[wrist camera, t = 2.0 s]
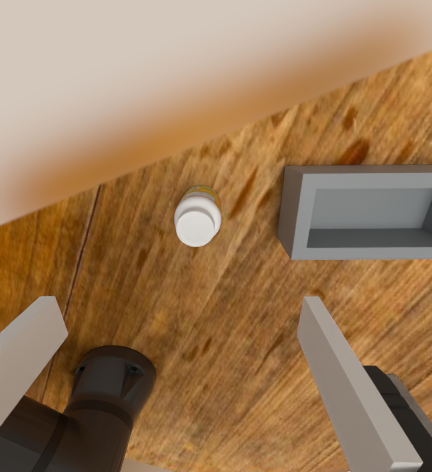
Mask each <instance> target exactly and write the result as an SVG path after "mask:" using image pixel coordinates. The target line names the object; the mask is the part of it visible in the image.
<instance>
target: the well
mask: <svg viewBox="0 0 432 472" xmlns="http://www.w3.org/2000/svg"><path fill="white" fill-rule="evenodd" d="M277 237H278V239H279V240H280V242H281V244H282V245H283V247H284V249H285V250H286V252H287V254H288V255H289V257H290V259H291V260H356V259H432V164H431V165H323V166H285V170H284V179H283V188H282V198H281V207H280V216H279V226H278V235H277Z"/></svg>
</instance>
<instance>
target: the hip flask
mask: <svg viewBox="0 0 432 472" xmlns="http://www.w3.org/2000/svg"><path fill="white" fill-rule="evenodd" d="M387 376H388V377H389V378H390V379H391V381H392V382H393V383H394V385H395V386H396V388H397V389H398V390H399V392H400V394H401V396H403V397H404V399H405V400H406V402H407V403H408V404H409V407H410V409H412V410H413V411H414V413H415V414H416V416H417V417H418V419H419V420H420V421H421V423H422V424H423V426H424V427H425V428H426V430H427V431H428V433H429V434H430V435H431V437H432V422H431V421H430V420H429V418H428V417H427V416H426V414H425V413H424V412H423V410H422V409H421V408H420V406H419V405H418V404H417V402H416V401H415V400H414V398H413V397H412V396H411V394H410V393H409V392H408V390H407V389H406V388H405V386H404V385H403V384H402V382H401V381H400V380H399V378H398V377H397V376H396V375H395V374H387Z"/></svg>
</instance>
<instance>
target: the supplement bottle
mask: <svg viewBox="0 0 432 472" xmlns="http://www.w3.org/2000/svg"><path fill="white" fill-rule="evenodd" d="M174 223H175V226H176V232H177V235H178V237H179V239H180V240H181V241H182V242H183V243H185V244H186V245H189V246H192V247H199V246H203V245H205V244H207V243H208V242H209V241H210V240H211V239H212V237H213V236H214V235H215V234H216V233H217V232H218V230H219V228H220V225H221V205H220V200H219V197H218V195H217V194H216V192H215V191H214V190H212V189H211V188H209V187H206V186H195V187H192V188H191V189H189V190H188V191H187V192H186V193H185V194H184V196H183V198H182V200H181V201H180V203H179V205H178V207H177V209H176V211H175V215H174Z"/></svg>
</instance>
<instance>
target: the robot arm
mask: <svg viewBox="0 0 432 472" xmlns="http://www.w3.org/2000/svg"><path fill="white" fill-rule="evenodd" d="M67 336H68V332H67V329H66V326H65V323H64V320H63V318H62V315H61V312H60V309H59V306H58V303H57V301H56V298H55V296H40V297H39V298H38V299H37V300H36V301H35V302H34V303H32V304H31V305H30V306H29V307H28V308H27V309H26V310H25V311H24V312H22V313H21V314H20V315H19V316H18V317H17V318H16V319H15V320H14V321H13V322H11V323H10V324H9V325H8V326H7V327H6V328H5V329H4V330H3V331H1V332H0V472H120V471H121V467H122V463H123V460H124V457H125V453H126V450H127V446H128V442H129V439H130V435H131V432H132V428H133V425H134V422H135V420H136V419H137V417H138V415H139V414H140V412H141V410H142V409H143V407H144V405H145V404H146V402H147V400H148V398H149V397H150V395H151V393H152V391H153V388H154V384H155V380H156V372H155V369H154V367H153V365H152V364H151V362H150V361H149V360H148V359H147V358H145V357H144V356H143V355H141V354H140V353H138V352H136V351H133V350H131V349H127V348H123V347H117V346H106V347H100V348H97V349H94V350H92V351H90V352H89V353H87V354H86V355H85V356H84V357H83V359H82V361H81V362H80V364H79V366H78V367H77V369H76V372H75V375H74V379H73V383H72V387H71V391H70V396H69V400H68V404H67V406H66V408H65V410H64V412H63V414H62V413H60V412H58V411H56V410H54V409H52V408H50V407H48V406H46V405H44V404H42V403H40V402H38V401H36V400H34V399H32V398H30V397H28V396H26V395H24V394H25V393H26V391H27V390H28V389H29V387H30V386H31V385H32V383H33V382H34V381H35V379H36V378H37V377H38V375H39V374H40V373H41V371H42V370H43V369H44V367H45V366H46V364H47V363H48V362H49V360H50V359H51V358H52V356H53V355H54V354H55V352H56V351H57V350H58V348H59V347H60V346H61V344H62V343H63V342H64V340H65V339H66V338H67ZM297 337H298V340H299V343H300V345H301V348H302V350H303V353H304V355H305V358H306V360H307V363H308V365H309V368H310V370H311V373H312V375H313V378H314V380H315V383H316V385H317V388H318V390H319V393H320V395H321V398H322V400H323V403H324V405H325V408H326V410H327V413H328V415H329V418H330V420H331V423H332V425H333V428H334V431H335V433H336V436H337V438H338V441H339V443H340V446H341V448H342V451H343V453H344V456H345V458H346V461H347V463H348V466H349V468H350V471H351V472H432V437H431V435H430V434H429V433H428V431H427V430H426V428H425V427H424V426H423V424H422V423H421V421H420V420H419V419H418V417H417V416H416V414H415V413H414V411H413V410H412V409H410V407H409V404H408V403H407V402H406V400H405V399H404V397H403V396H401V394H400V392H399V390H398V389H397V388H396V386H395V385H394V383H393V382H392V381H391V379H390V378H389V377H388V376H387V375H386V374H385V373H383V372H382V371H381V370H380V369H379V368H378V367H377V366H362V364H361V363H360V361H359V360H358V358H357V357H356V355H355V353H354V352H353V350H352V349H351V347H350V345H349V344H348V342H347V341H346V339H345V338H344V336H343V334H342V333H341V331H340V330H339V328H338V326H337V325H336V323H335V322H334V320H333V318H332V317H331V315H330V314H329V312H328V311H327V309H326V307H325V306H324V304H323V303H322V301H321V299H320V298H319V297H304V300H303V305H302V310H301V315H300V321H299V326H298V331H297Z"/></svg>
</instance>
